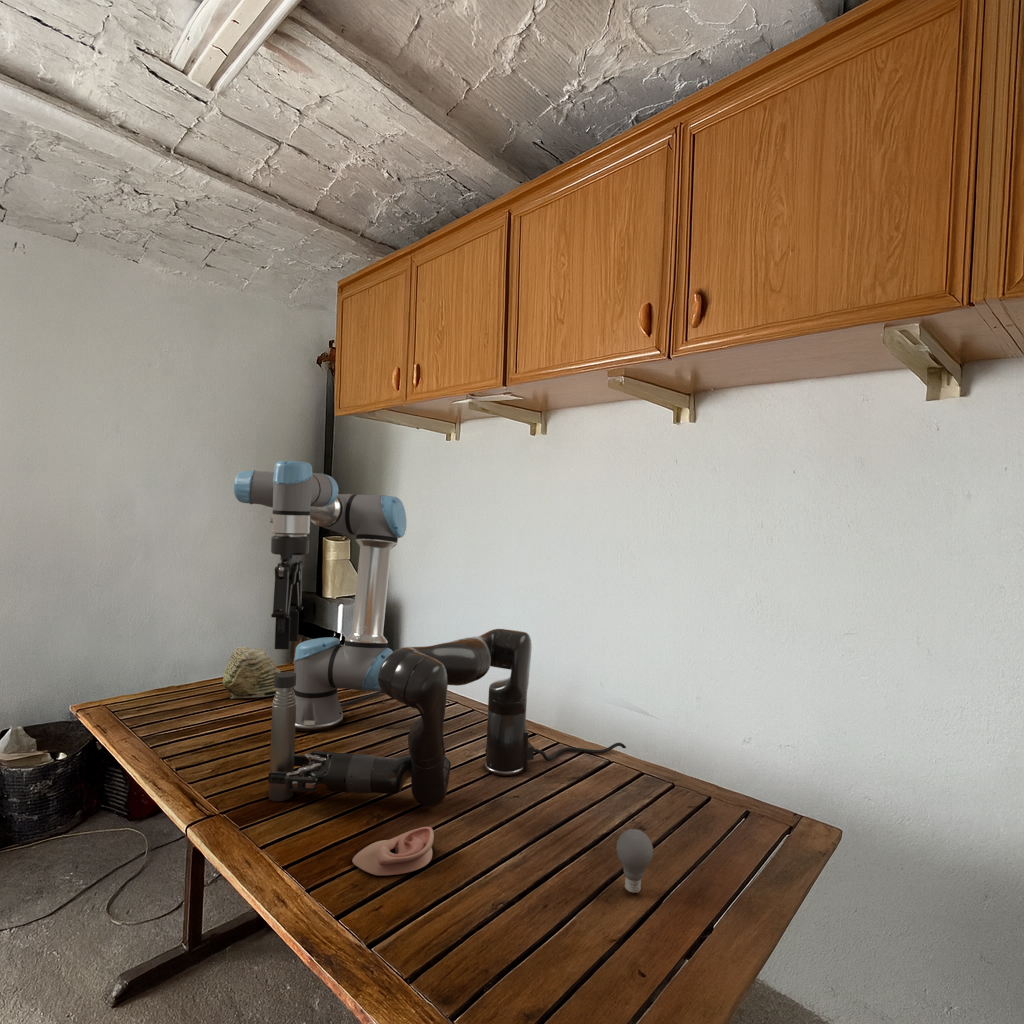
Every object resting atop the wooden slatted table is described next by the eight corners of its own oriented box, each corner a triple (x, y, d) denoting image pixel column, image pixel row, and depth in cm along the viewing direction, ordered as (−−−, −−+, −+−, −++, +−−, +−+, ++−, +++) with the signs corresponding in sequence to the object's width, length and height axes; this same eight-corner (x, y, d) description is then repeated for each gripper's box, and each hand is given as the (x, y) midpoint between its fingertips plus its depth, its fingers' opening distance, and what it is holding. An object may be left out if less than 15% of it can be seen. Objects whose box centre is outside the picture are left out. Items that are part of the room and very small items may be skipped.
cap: (269, 686, 132) (269, 675, 132) (284, 681, 136) (284, 670, 136) (285, 689, 130) (286, 678, 130) (300, 684, 134) (300, 673, 134)
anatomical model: (344, 847, 108) (373, 814, 119) (343, 870, 108) (372, 835, 119) (418, 859, 105) (440, 825, 116) (417, 883, 105) (439, 846, 116)
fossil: (218, 695, 195) (220, 647, 195) (278, 685, 208) (279, 640, 207) (228, 703, 189) (230, 653, 188) (289, 692, 201) (290, 645, 201)
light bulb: (610, 879, 108) (613, 822, 108) (644, 879, 109) (647, 822, 109) (619, 902, 102) (622, 840, 102) (655, 901, 103) (658, 840, 103)
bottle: (263, 798, 132) (268, 677, 132) (280, 789, 136) (284, 672, 136) (281, 803, 130) (286, 680, 130) (297, 793, 135) (302, 675, 134)
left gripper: (284, 531, 142) (280, 634, 142) (257, 537, 122) (253, 656, 123) (318, 533, 142) (314, 635, 143) (297, 538, 123) (293, 656, 123)
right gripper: (364, 742, 139) (292, 737, 140) (343, 769, 125) (263, 764, 126) (363, 776, 139) (290, 771, 140) (342, 807, 125) (262, 801, 126)
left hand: (286, 644), depth 133 cm, fingers open, 7 cm apart
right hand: (278, 768), depth 133 cm, fingers open, 8 cm apart
